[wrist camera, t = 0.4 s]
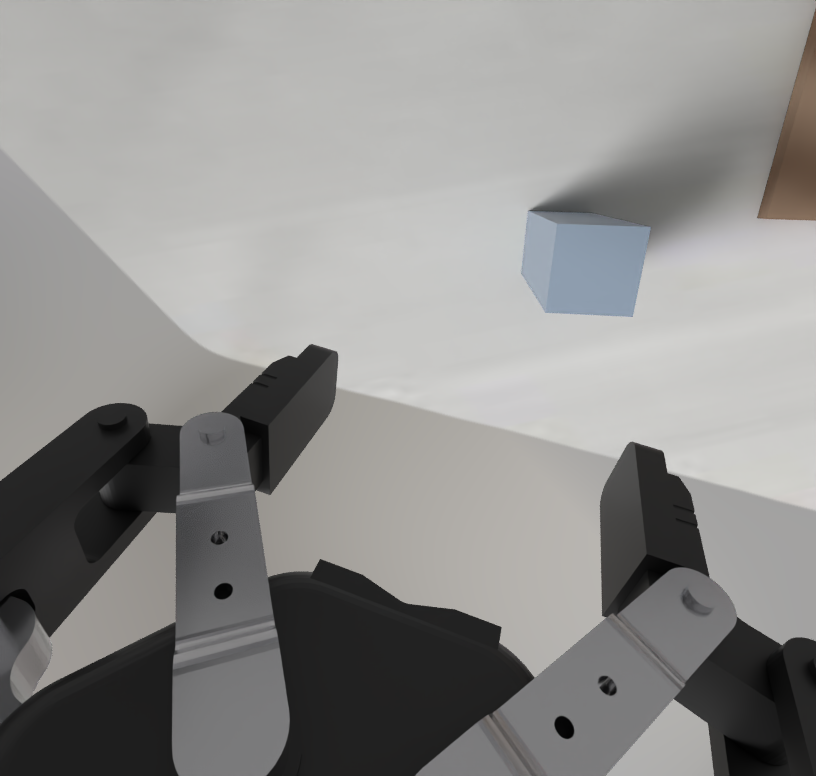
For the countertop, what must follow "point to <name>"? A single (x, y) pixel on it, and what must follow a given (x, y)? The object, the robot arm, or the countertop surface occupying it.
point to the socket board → (796, 148)
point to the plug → (584, 262)
